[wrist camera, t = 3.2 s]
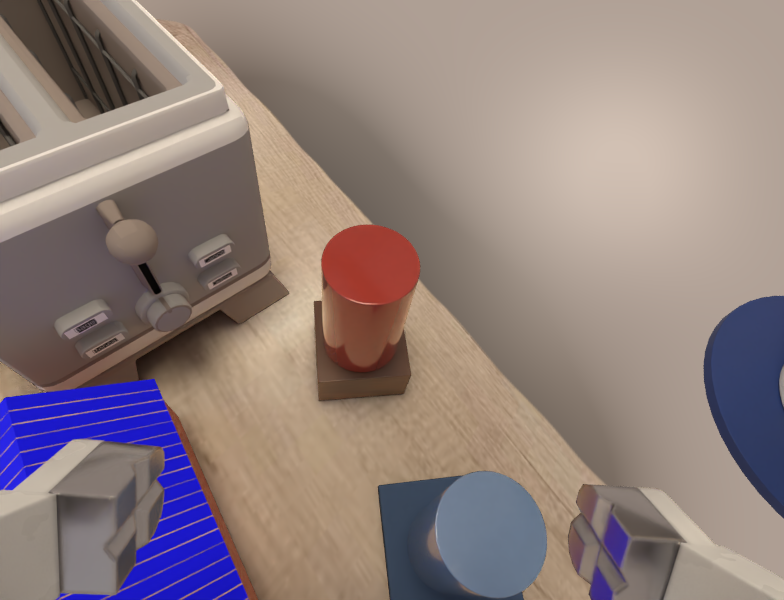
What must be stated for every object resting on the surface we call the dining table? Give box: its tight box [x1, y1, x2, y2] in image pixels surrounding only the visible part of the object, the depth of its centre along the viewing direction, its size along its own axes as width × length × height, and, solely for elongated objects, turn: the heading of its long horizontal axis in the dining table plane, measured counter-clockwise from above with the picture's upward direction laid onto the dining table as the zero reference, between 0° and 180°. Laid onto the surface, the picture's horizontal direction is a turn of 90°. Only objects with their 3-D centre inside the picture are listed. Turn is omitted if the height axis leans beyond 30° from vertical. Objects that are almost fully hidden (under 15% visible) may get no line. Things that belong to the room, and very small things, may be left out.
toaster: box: [0, 0, 289, 392], centre depth 35 cm, size 19×34×20 cm, turn 42°
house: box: [0, 379, 258, 600], centre depth 25 cm, size 12×20×12 cm, turn 33°
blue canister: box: [407, 471, 547, 598], centre depth 29 cm, size 6×6×10 cm
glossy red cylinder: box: [321, 225, 420, 372], centre depth 33 cm, size 6×6×10 cm
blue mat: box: [378, 475, 524, 600], centre depth 33 cm, size 9×9×1 cm
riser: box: [314, 301, 411, 401], centre depth 39 cm, size 7×7×4 cm
